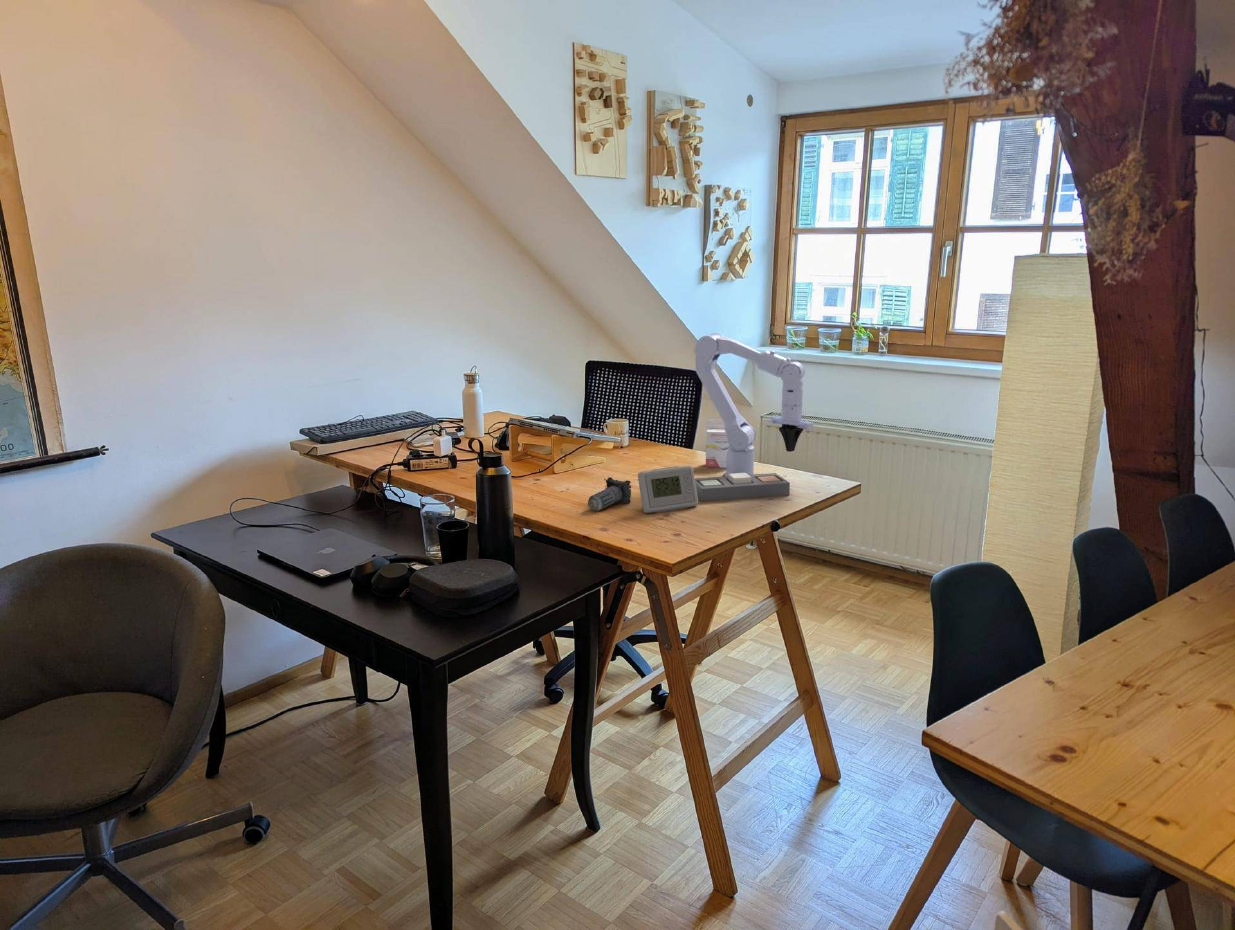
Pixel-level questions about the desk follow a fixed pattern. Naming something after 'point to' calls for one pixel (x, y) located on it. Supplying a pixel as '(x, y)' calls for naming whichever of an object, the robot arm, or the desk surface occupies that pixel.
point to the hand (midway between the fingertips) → (790, 450)
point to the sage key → (709, 483)
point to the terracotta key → (768, 479)
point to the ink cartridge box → (716, 444)
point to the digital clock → (667, 489)
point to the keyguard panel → (742, 488)
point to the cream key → (739, 478)
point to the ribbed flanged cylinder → (611, 495)
